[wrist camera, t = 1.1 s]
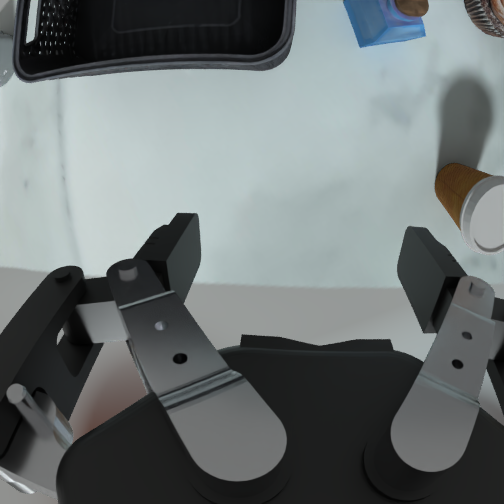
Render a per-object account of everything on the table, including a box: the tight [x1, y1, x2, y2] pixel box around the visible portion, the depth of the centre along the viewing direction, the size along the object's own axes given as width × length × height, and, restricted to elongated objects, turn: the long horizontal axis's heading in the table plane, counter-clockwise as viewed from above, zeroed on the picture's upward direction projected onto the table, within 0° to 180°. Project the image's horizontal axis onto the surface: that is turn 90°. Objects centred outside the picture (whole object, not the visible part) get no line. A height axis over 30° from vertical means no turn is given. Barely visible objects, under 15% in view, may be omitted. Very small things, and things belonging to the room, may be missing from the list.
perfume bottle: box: [343, 0, 429, 48], centre depth 24 cm, size 6×6×12 cm
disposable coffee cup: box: [435, 163, 504, 255], centre depth 33 cm, size 10×10×12 cm
